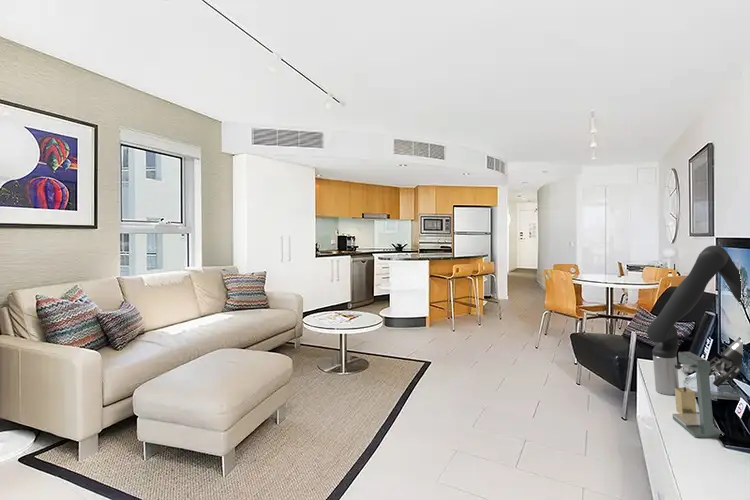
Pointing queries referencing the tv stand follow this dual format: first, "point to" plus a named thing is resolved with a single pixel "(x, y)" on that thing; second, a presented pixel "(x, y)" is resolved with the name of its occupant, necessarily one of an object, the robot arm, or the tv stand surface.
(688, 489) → the tv stand surface
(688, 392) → the block
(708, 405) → the arbor press
